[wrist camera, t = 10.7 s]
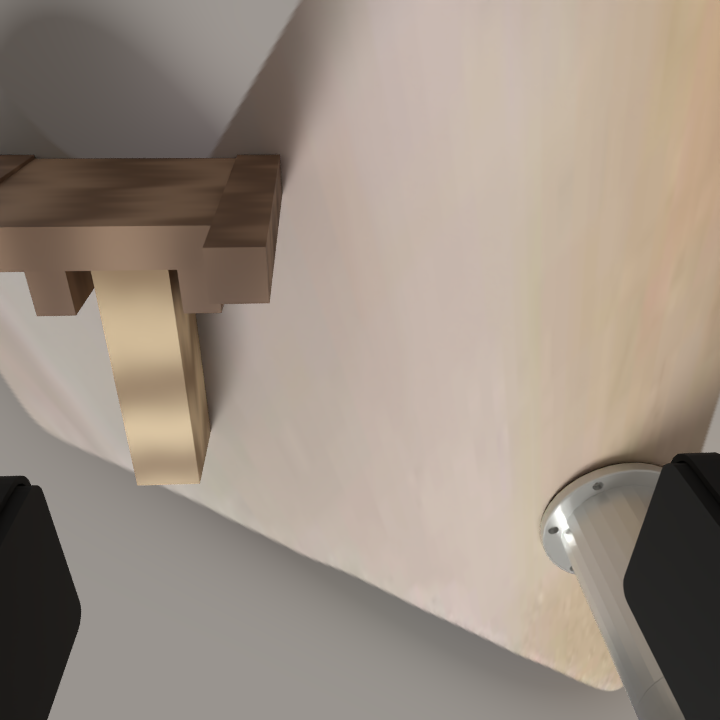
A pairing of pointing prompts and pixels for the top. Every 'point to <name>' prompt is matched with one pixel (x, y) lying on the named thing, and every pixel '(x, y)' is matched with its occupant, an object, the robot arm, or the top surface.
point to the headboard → (141, 225)
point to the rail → (156, 373)
